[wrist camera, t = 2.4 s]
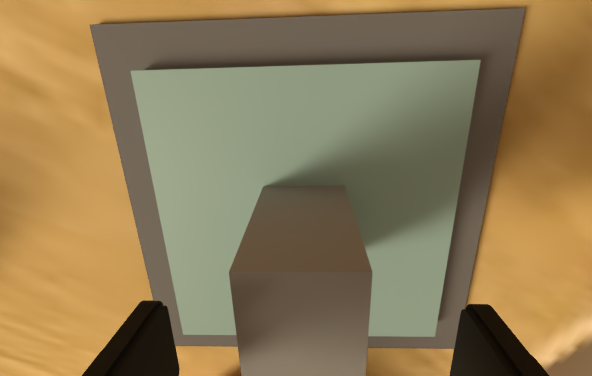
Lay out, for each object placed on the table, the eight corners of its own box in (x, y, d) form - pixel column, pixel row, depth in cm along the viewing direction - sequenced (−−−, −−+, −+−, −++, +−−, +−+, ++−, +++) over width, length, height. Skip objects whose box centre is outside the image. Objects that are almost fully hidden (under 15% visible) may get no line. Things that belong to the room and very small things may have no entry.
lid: (141, 70, 15) (-37, 68, 7) (469, 60, 14) (658, 46, 6) (189, 322, 20) (116, 475, 12) (428, 323, 19) (506, 486, 12)
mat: (95, 25, 14) (89, 24, 14) (519, 9, 13) (525, 7, 13) (166, 340, 21) (164, 345, 20) (454, 343, 20) (456, 348, 20)
